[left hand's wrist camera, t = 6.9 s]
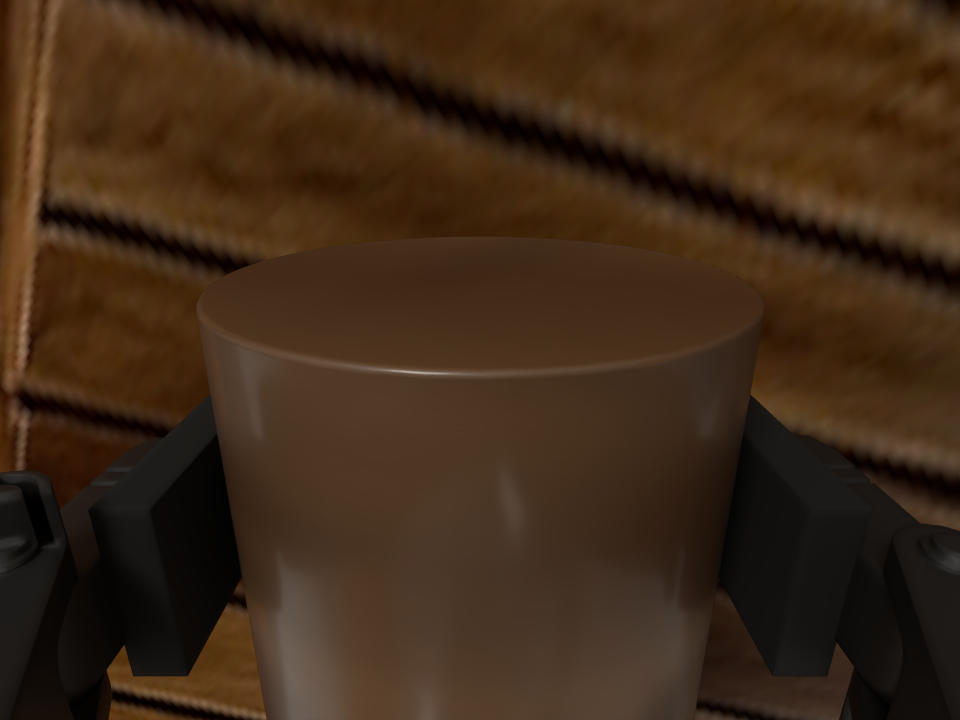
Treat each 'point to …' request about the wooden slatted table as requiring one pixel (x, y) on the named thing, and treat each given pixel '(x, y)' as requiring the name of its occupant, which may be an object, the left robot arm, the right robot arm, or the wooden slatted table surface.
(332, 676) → the brown wooden cylinder
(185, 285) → the wooden slatted table surface
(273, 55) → the wooden slatted table surface
